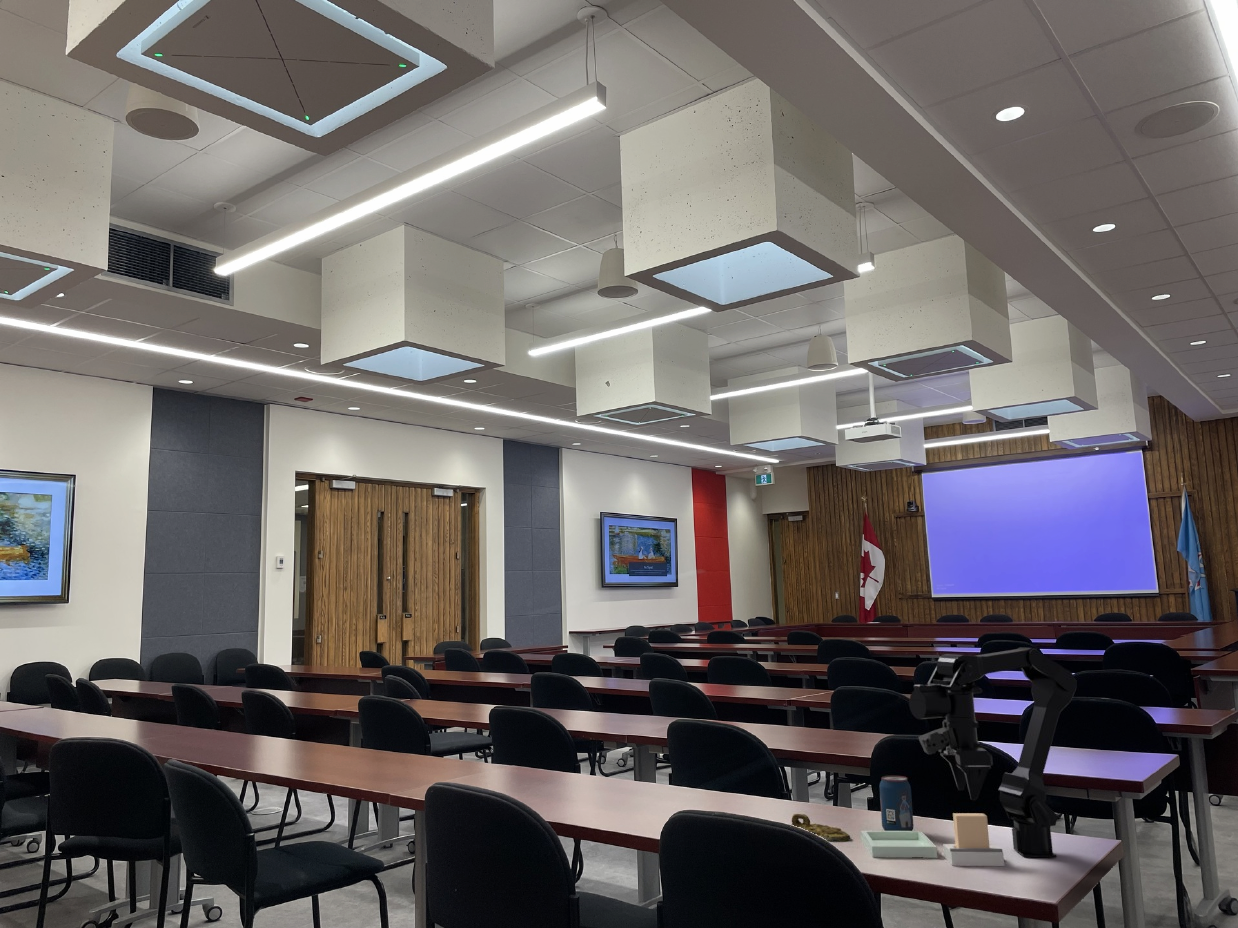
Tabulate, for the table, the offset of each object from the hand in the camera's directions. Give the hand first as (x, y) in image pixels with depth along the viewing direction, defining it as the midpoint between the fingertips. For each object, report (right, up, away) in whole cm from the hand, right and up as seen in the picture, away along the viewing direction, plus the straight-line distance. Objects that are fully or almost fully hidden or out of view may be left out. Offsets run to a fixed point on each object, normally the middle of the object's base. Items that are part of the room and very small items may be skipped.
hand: (967, 794), depth 176 cm
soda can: (-7, -17, +21) cm, 28 cm away
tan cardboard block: (0, -13, -2) cm, 13 cm away
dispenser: (0, -13, -2) cm, 13 cm away
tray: (-12, -15, +8) cm, 20 cm away
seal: (-26, -18, +20) cm, 37 cm away
